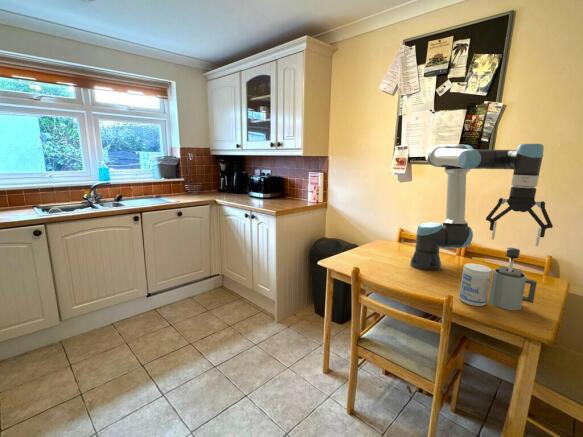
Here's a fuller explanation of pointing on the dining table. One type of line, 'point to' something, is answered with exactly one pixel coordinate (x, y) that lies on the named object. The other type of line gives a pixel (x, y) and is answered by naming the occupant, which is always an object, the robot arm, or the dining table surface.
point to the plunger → (512, 256)
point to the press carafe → (510, 288)
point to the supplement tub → (475, 284)
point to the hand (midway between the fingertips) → (513, 242)
